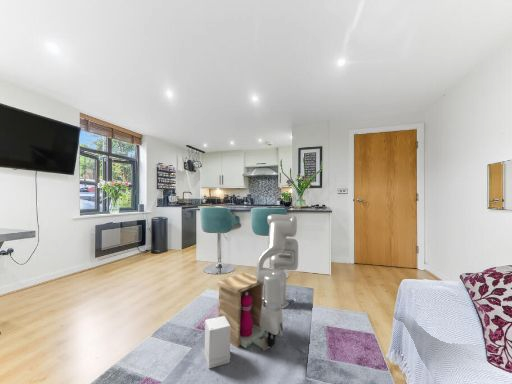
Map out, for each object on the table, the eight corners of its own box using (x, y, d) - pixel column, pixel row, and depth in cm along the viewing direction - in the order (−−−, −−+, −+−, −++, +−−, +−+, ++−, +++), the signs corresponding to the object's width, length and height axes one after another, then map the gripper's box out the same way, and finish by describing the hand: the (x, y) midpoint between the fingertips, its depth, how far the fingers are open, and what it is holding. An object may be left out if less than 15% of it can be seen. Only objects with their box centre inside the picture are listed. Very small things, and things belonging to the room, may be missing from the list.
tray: (245, 324, 119) (245, 315, 119) (275, 341, 105) (276, 330, 105) (226, 335, 109) (226, 325, 109) (257, 356, 96) (257, 344, 96)
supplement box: (230, 363, 92) (231, 326, 92) (208, 369, 88) (209, 330, 88) (224, 349, 100) (225, 315, 100) (204, 354, 96) (204, 319, 97)
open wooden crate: (244, 320, 124) (245, 272, 124) (263, 330, 114) (264, 279, 115) (216, 335, 109) (217, 281, 110) (236, 349, 100) (237, 290, 101)
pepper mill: (241, 339, 105) (241, 296, 105) (236, 330, 112) (237, 290, 112) (255, 335, 108) (256, 293, 108) (249, 327, 115) (250, 288, 115)
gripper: (253, 300, 102) (252, 342, 101) (280, 312, 92) (280, 358, 91) (264, 295, 107) (263, 334, 107) (290, 306, 97) (290, 349, 97)
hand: (271, 345), depth 99 cm, fingers closed
